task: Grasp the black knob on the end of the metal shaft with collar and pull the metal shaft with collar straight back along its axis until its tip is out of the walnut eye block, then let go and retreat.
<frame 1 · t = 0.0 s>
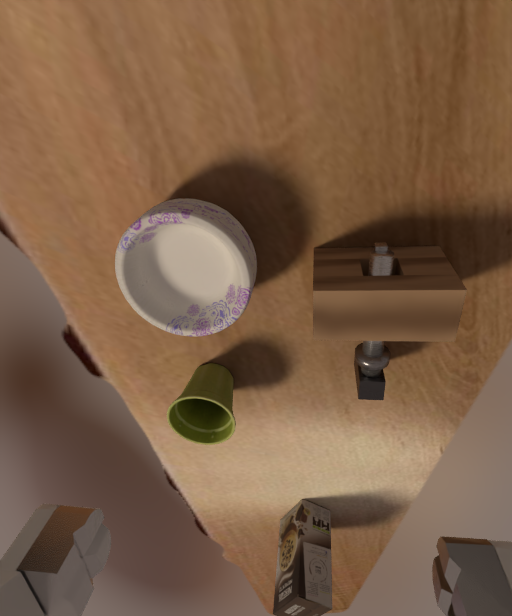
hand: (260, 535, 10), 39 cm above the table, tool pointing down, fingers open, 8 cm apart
paper bowls: (199, 249, 49), on the table
eye block: (373, 270, 48), on the table
coffee box: (304, 513, 77), on the table
plant pot: (214, 376, 61), on the table
metal shaft with collar: (373, 320, 47), point 4 cm above the table, slide at 0.0 cm
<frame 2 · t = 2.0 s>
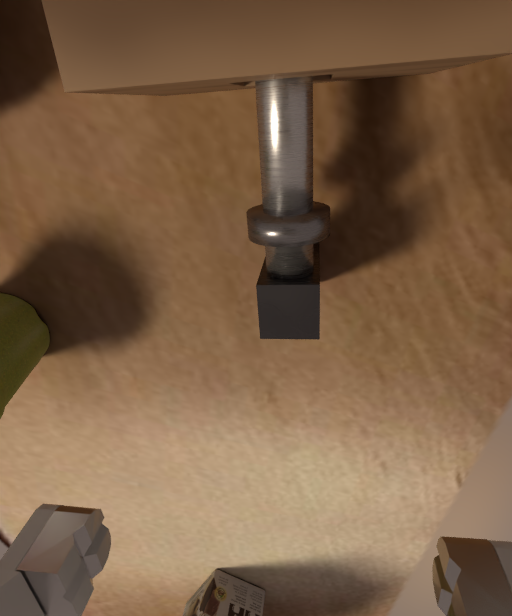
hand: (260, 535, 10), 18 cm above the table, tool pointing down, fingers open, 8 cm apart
eye block: (288, 15, 20), on the table
coffee box: (224, 594, 45), on the table
plant pot: (16, 326, 31), on the table
metal shaft with collar: (287, 125, 19), point 4 cm above the table, slide at 0.0 cm
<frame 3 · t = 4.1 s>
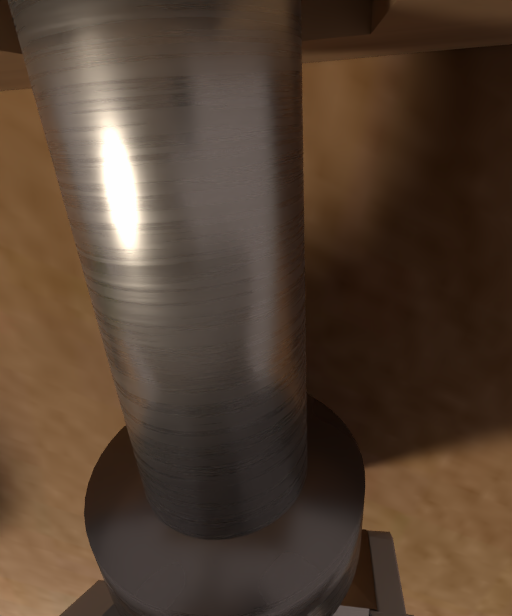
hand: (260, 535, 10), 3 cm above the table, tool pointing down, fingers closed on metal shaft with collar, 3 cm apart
metal shaft with collar: (219, 194, 5), point 4 cm above the table, slide at 0.0 cm, touching gripper
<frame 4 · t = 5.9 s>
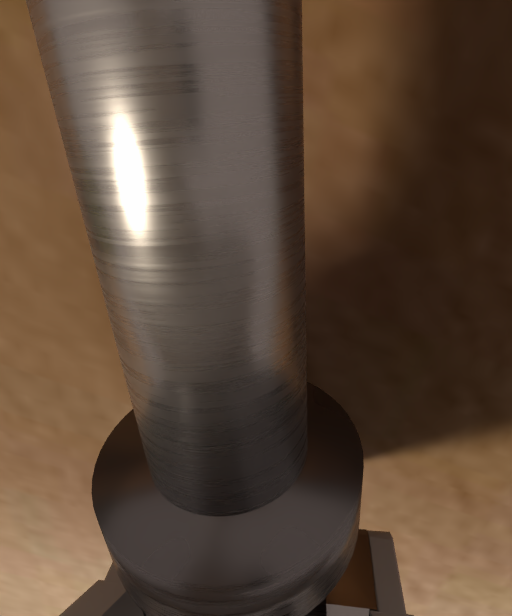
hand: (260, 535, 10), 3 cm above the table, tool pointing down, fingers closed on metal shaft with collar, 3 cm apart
metal shaft with collar: (222, 184, 6), point 4 cm above the table, slide at 6.5 cm, touching gripper
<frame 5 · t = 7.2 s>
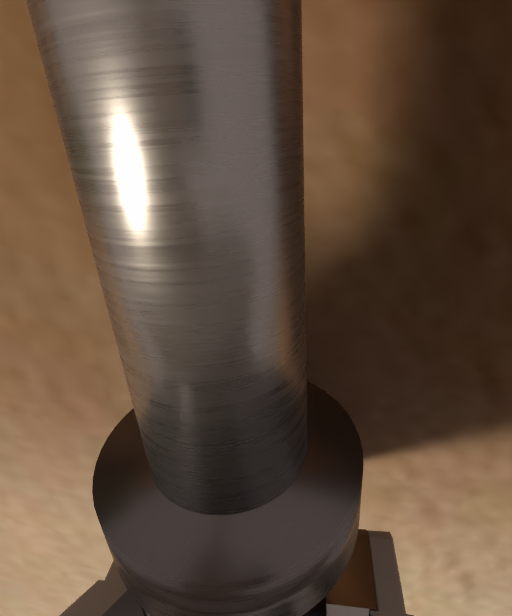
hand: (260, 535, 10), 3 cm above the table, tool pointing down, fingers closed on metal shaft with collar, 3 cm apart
metal shaft with collar: (222, 183, 6), point 4 cm above the table, slide at 11.0 cm, touching gripper
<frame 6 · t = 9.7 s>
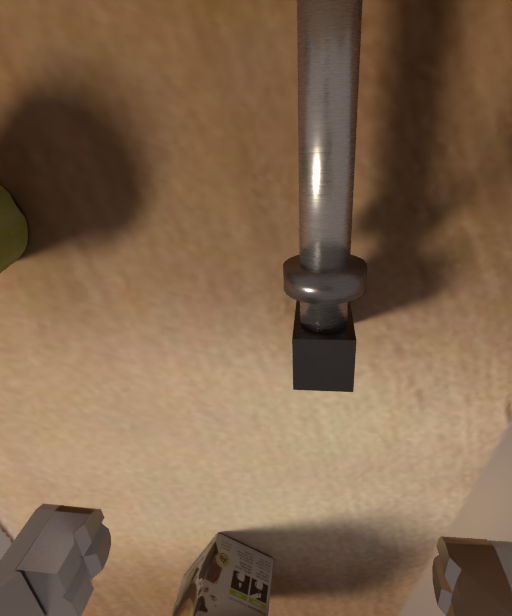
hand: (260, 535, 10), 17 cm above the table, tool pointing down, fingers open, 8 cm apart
coffee box: (226, 565, 40), on the table
metal shaft with collar: (325, 182, 19), point 4 cm above the table, slide at 11.0 cm
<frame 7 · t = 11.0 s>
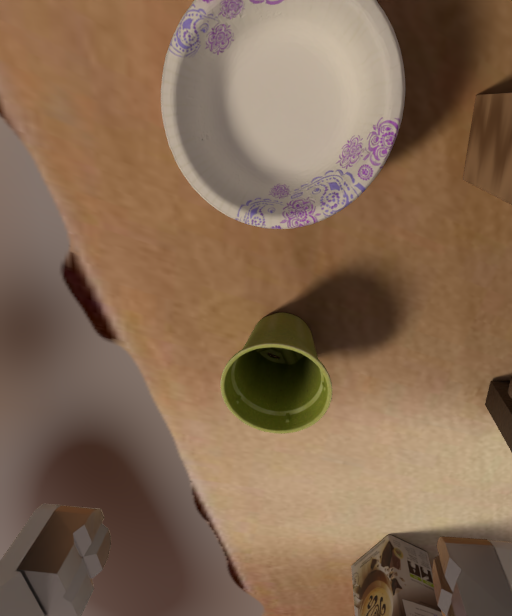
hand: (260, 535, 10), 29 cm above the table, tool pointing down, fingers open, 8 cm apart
paper bowls: (285, 109, 32), on the table
coffee box: (387, 557, 55), on the table
plant pot: (283, 337, 41), on the table
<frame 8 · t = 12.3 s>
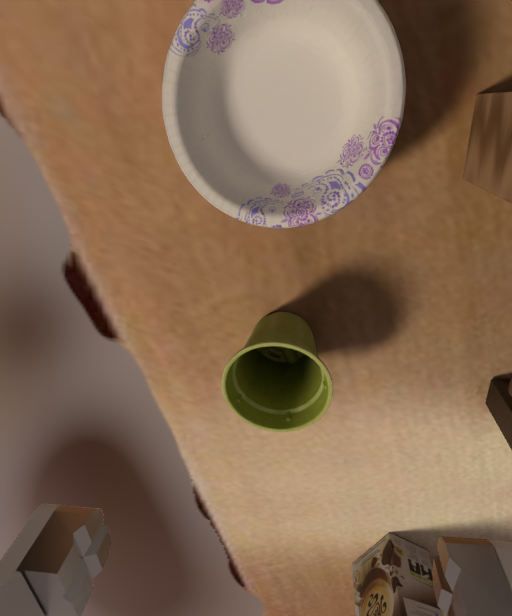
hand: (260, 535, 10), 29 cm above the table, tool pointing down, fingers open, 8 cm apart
paper bowls: (286, 108, 32), on the table
coffee box: (387, 555, 55), on the table
plant pot: (283, 336, 41), on the table
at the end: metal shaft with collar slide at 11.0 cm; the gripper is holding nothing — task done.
